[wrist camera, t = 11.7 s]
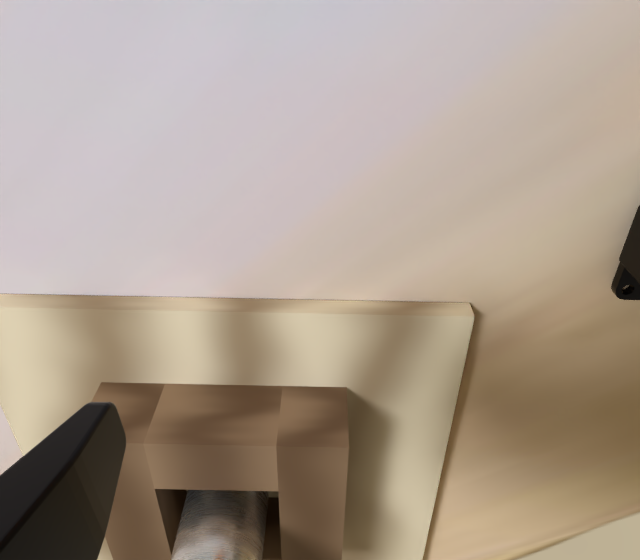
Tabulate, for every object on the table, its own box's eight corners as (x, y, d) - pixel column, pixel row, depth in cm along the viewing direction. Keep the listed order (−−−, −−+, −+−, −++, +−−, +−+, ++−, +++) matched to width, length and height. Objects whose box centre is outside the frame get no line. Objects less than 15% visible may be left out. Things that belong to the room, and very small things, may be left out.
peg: (270, 439, 27) (244, 669, 19) (273, 488, 29) (250, 713, 21) (191, 438, 27) (130, 666, 19) (199, 487, 29) (148, 711, 21)
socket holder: (469, 302, 23) (496, 373, 20) (417, 555, 34) (428, 632, 31) (-30, 293, 23) (-99, 362, 20) (77, 548, 34) (45, 624, 31)
